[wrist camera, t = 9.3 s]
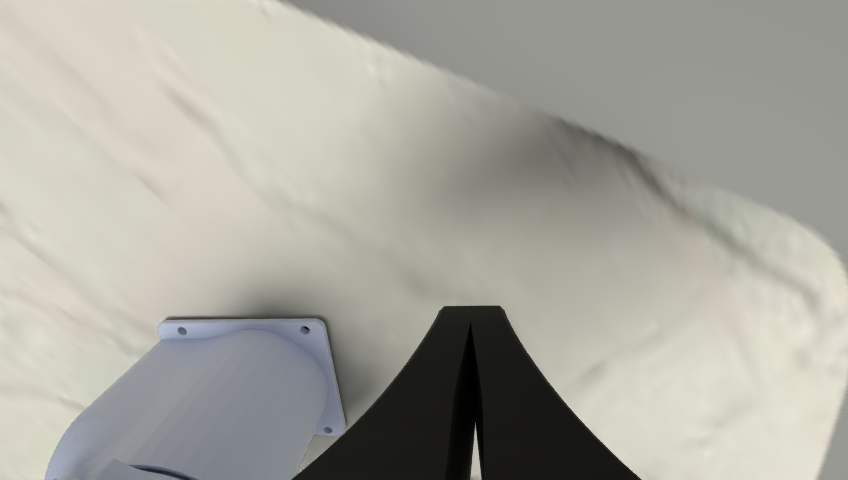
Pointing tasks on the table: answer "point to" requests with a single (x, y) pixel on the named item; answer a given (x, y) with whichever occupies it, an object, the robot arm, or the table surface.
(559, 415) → the robot arm
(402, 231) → the table surface
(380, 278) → the table surface
